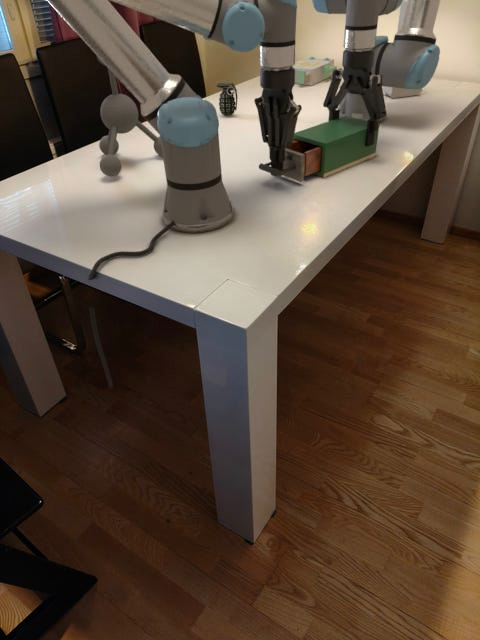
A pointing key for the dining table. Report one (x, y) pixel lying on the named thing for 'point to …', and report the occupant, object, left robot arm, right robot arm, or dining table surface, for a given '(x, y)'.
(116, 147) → the molecular model
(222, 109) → the grenade
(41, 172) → the dining table surface
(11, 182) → the dining table surface
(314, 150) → the drawer
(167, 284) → the dining table surface
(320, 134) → the cabinet
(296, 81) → the decorative block
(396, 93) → the electronic device
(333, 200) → the dining table surface
